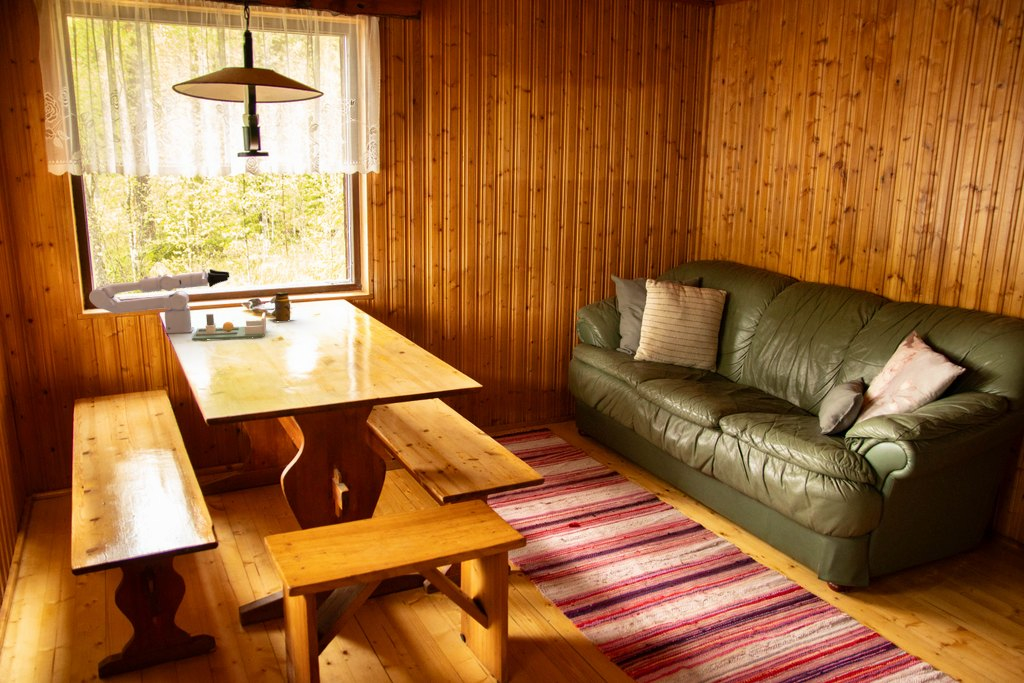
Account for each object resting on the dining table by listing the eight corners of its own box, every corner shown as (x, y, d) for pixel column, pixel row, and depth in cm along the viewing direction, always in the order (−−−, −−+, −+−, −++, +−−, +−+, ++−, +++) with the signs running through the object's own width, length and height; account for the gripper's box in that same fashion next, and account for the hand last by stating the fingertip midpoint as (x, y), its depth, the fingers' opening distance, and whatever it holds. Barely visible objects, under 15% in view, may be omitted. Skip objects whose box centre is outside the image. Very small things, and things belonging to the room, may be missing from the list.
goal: (245, 334, 317) (244, 319, 316) (246, 328, 329) (245, 313, 327) (265, 333, 319) (264, 318, 318) (266, 327, 330) (265, 312, 329)
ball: (222, 333, 319) (222, 323, 318) (223, 331, 323) (222, 321, 322) (233, 332, 320) (232, 322, 319) (234, 330, 324) (233, 320, 323)
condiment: (294, 320, 349) (292, 292, 347) (276, 323, 344) (274, 295, 341) (285, 317, 354) (284, 290, 352) (267, 320, 349) (266, 292, 346)
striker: (206, 333, 316) (204, 316, 315) (207, 330, 322) (206, 313, 321) (214, 333, 317) (213, 315, 316) (215, 330, 323) (214, 313, 321)
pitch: (192, 340, 310) (191, 336, 310) (197, 330, 327) (197, 326, 327) (263, 337, 316) (263, 333, 316) (265, 328, 333) (264, 323, 333)
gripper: (188, 272, 315) (225, 268, 318) (193, 267, 329) (228, 263, 332) (191, 290, 317) (228, 286, 320) (196, 284, 331) (230, 280, 334)
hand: (228, 276), depth 326 cm, fingers open, 7 cm apart
